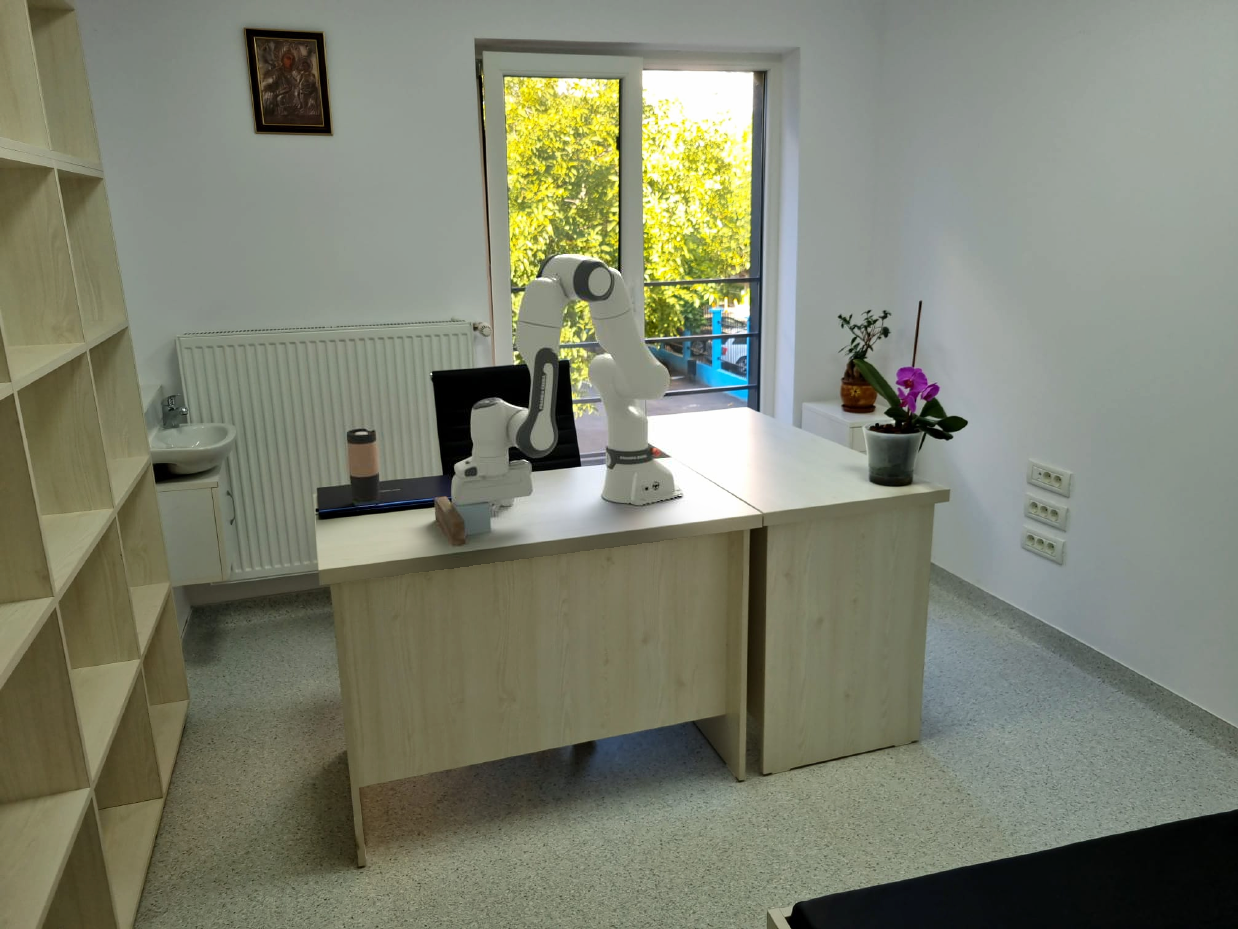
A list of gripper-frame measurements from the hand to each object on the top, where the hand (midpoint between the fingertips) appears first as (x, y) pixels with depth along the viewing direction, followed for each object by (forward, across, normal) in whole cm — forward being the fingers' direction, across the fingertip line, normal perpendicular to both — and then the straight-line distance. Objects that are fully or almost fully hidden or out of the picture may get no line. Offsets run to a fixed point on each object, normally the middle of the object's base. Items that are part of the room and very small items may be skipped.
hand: (493, 516), depth 236 cm
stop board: (+2, +11, 0) cm, 12 cm away
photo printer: (+3, -6, -18) cm, 19 cm away
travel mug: (+2, +27, -30) cm, 41 cm away
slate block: (+2, +6, 0) cm, 6 cm away
